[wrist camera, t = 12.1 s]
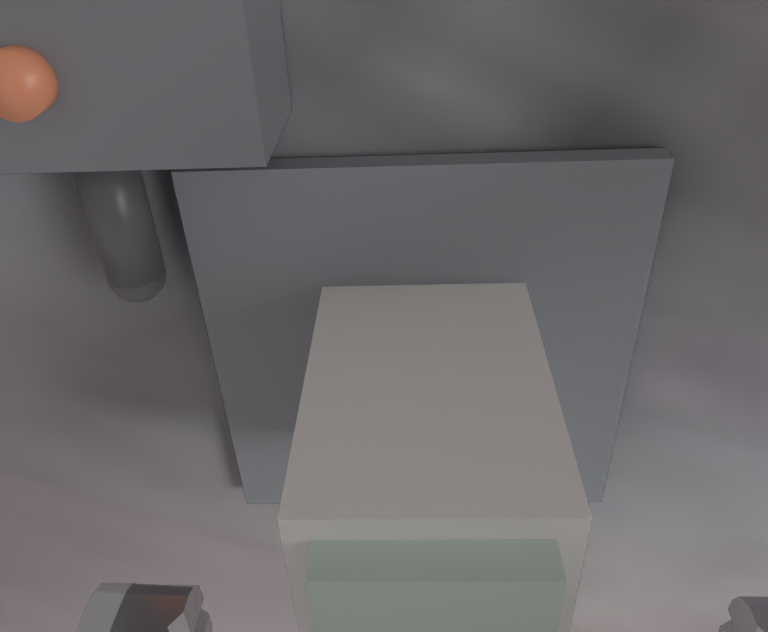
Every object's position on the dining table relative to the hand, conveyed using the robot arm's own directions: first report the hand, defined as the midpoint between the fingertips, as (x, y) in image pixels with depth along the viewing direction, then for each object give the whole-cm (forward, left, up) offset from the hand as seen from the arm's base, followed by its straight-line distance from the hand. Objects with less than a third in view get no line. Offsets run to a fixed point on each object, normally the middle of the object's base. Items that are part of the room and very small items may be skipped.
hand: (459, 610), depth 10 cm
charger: (0, 0, -7) cm, 7 cm away
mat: (+1, 0, -7) cm, 7 cm away
